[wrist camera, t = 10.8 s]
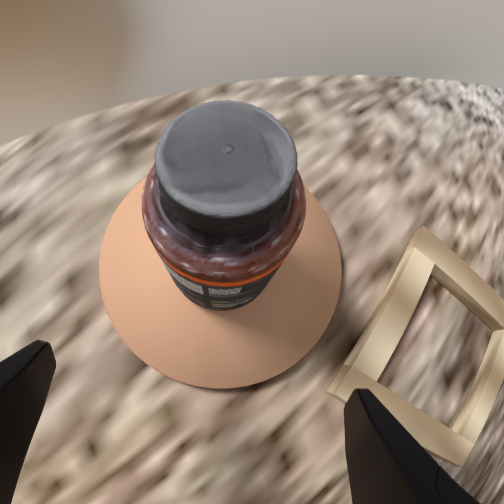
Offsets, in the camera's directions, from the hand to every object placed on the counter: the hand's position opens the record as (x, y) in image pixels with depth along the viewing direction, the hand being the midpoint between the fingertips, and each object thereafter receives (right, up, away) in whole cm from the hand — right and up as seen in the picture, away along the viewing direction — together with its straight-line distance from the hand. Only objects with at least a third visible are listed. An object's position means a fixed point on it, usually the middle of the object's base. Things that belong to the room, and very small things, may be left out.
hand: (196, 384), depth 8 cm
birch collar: (+15, -4, +12) cm, 20 cm away
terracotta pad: (0, +3, +12) cm, 12 cm away
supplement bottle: (0, +3, +11) cm, 11 cm away
